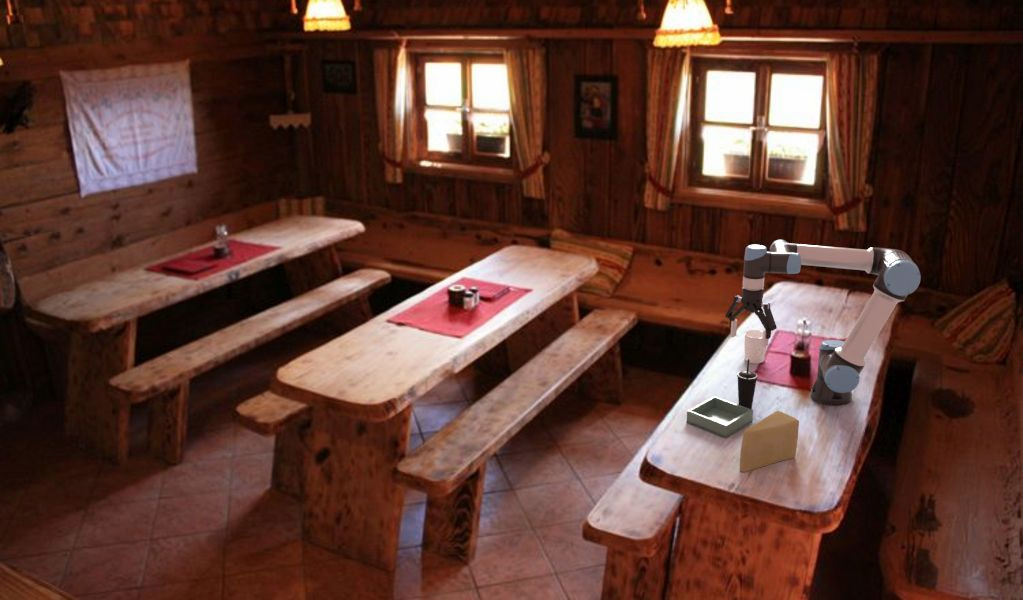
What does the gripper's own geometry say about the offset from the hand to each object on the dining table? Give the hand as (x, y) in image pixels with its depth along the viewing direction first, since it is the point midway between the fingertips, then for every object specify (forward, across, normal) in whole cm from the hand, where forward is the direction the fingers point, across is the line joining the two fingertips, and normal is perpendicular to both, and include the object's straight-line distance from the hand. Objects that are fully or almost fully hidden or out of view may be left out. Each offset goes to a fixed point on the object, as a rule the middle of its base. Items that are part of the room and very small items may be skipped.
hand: (748, 341), depth 328 cm
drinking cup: (+28, 0, 0) cm, 28 cm away
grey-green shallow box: (+27, 0, +17) cm, 32 cm away
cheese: (+28, -27, +30) cm, 49 cm away
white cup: (+28, +22, -41) cm, 54 cm away
